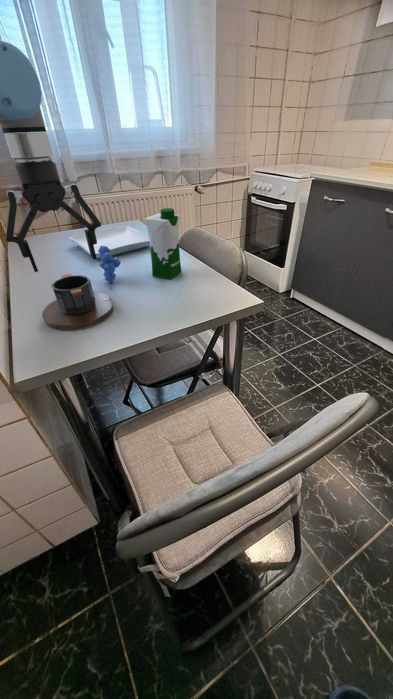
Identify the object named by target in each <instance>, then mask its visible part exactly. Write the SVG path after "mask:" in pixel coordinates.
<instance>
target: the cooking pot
mask: <svg viewBox="0 0 393 699" xmlns="http://www.w3.org/2000/svg"><path fill="white" fill-rule="evenodd" d="M51 288H52V291H53V294H54V297H55V300H57V303H58V305H59V308H60V311H61V312H62V313H64V314H67V315H78V314H82V313H85V312H88V311H90V310H91V309H93V308H94V307H95V305H96V303H95V297H94V293H93V292H94V290H93V286H92V281H91V279H90V278H89V277H88V276H86V275H79V274H78V275H72V273H68V274H64V275H61V278H58V279H56V280H54V281H53V283H52V284H51Z"/></svg>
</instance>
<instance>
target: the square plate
mask: <svg viewBox="0 0 393 699" xmlns="http://www.w3.org/2000/svg"><path fill="white" fill-rule="evenodd" d="M95 235H96V240H97V244H94V249H95V254H96V258H97V259H100V258H99V256H100V253H99V252H98V250H99V248H100V247H101V246H102V245H104V246H106V247H108V248H109V249H110V252H109V254H110V255H111V256H112V257H113V256H116V255H120V254H124V253H129V252H132V251H137V250H139V249H142V248H145V247H148V246H149V247H150V243H149V235H148V234H146V233H145V232H142V231H140V230H138V229H136V228H133V227H131V226H128V225H123V226H117V227H110V228H103V229H99V230H95ZM68 239H69V240H70V241H72V242H73V243H74V244H76V245H77V246H79V248H81V249H82V250H84V251H85V252H86V253H87V254H88V255H89V256H91V255H90V251H89V247H88V243H87V239H86V235H85V232H84V233H81V234H76V235H72V236H69V237H68Z"/></svg>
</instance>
